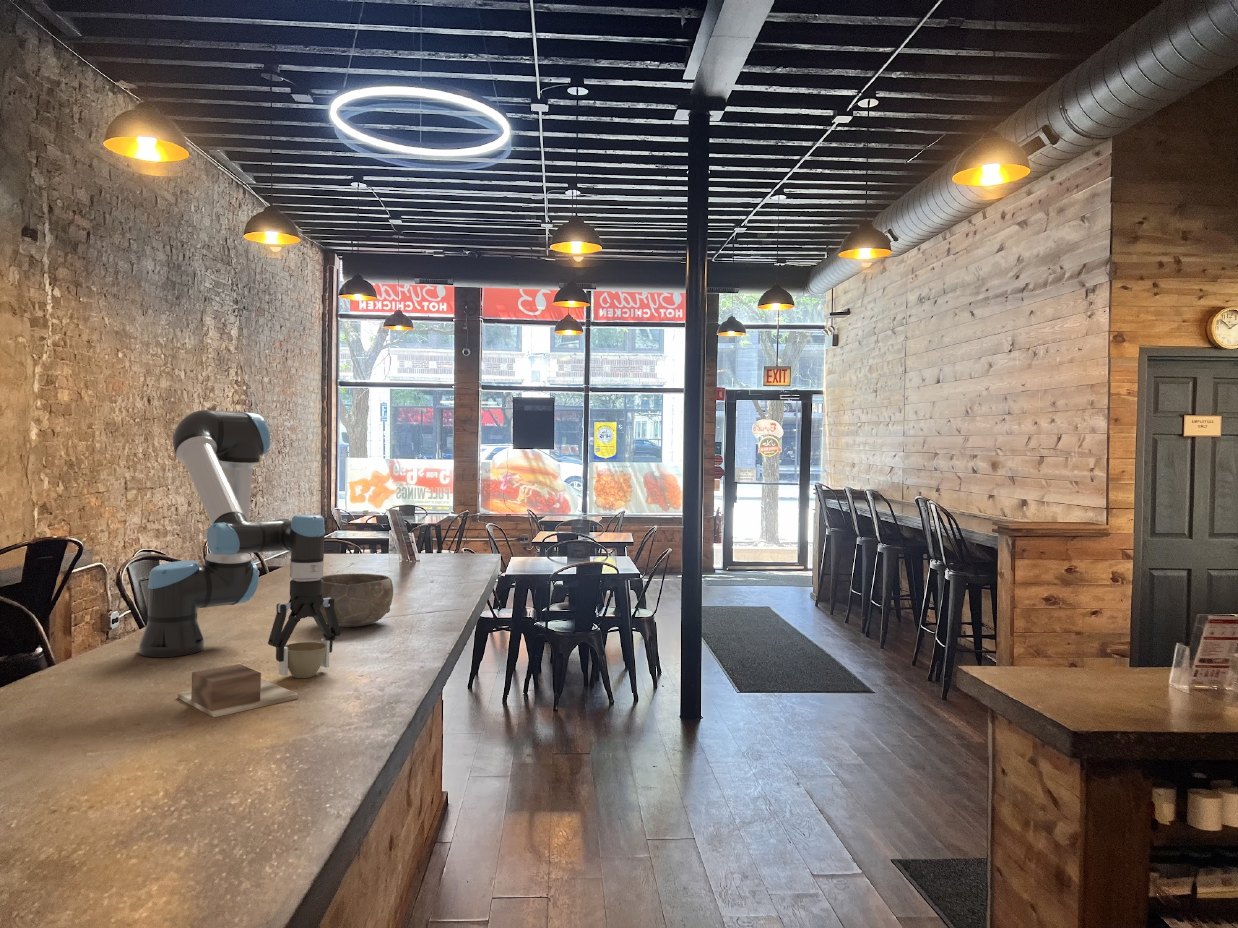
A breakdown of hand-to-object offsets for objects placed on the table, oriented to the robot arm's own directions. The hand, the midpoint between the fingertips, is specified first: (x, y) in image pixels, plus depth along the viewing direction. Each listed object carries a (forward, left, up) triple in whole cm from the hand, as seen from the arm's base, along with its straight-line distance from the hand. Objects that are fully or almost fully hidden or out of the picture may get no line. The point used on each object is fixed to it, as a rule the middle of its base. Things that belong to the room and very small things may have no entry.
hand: (304, 670), depth 194 cm
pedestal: (+10, -23, 0) cm, 25 cm away
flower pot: (0, 0, -2) cm, 2 cm away
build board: (+7, -19, -1) cm, 20 cm away
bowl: (-42, +38, -2) cm, 57 cm away
